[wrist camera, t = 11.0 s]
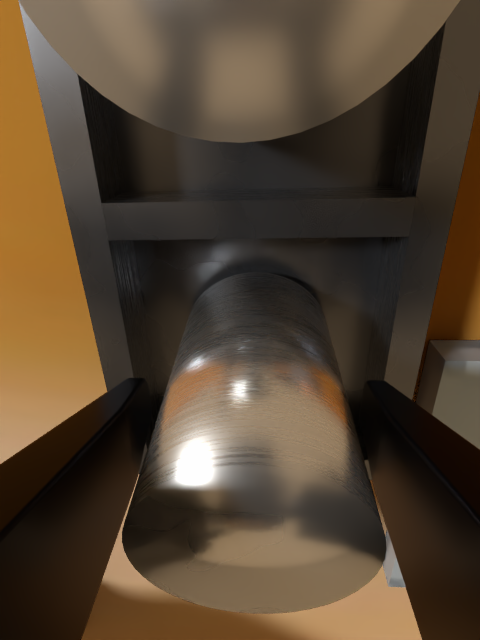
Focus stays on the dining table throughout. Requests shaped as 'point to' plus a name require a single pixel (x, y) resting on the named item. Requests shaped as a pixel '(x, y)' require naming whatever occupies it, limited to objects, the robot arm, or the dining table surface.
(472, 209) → the dining table surface
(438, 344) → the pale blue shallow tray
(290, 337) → the cylinder
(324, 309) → the grey divided tray
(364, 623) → the dining table surface
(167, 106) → the cylinder
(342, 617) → the dining table surface
